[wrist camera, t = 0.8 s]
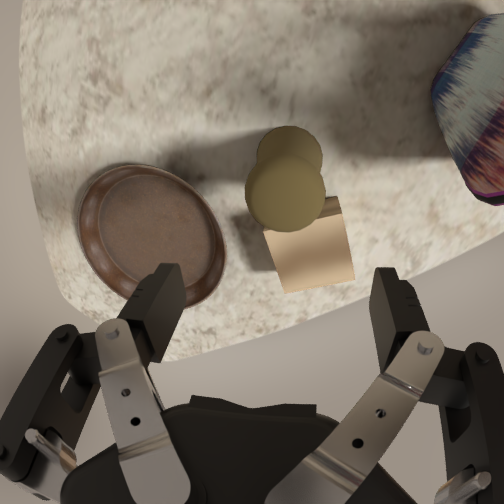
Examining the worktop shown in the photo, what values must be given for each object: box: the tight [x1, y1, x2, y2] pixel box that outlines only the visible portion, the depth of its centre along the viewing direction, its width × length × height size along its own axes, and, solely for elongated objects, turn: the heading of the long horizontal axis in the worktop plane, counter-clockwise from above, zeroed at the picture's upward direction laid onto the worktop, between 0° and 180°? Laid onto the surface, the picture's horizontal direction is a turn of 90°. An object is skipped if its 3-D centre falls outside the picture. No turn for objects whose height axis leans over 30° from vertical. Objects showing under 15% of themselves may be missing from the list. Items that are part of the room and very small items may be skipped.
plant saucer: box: [77, 165, 227, 309], centre depth 33 cm, size 18×18×3 cm
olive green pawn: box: [245, 126, 326, 233], centre depth 23 cm, size 6×6×11 cm
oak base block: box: [263, 196, 355, 294], centre depth 30 cm, size 7×7×4 cm
